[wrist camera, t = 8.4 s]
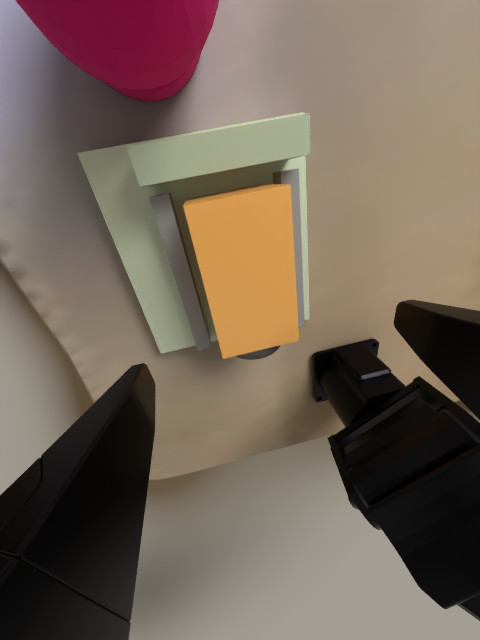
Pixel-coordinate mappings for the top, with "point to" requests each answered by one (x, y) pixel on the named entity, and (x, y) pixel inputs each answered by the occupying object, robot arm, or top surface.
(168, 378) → the top surface
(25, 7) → the pepper mill
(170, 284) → the pale green tray
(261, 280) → the orange tapered block
